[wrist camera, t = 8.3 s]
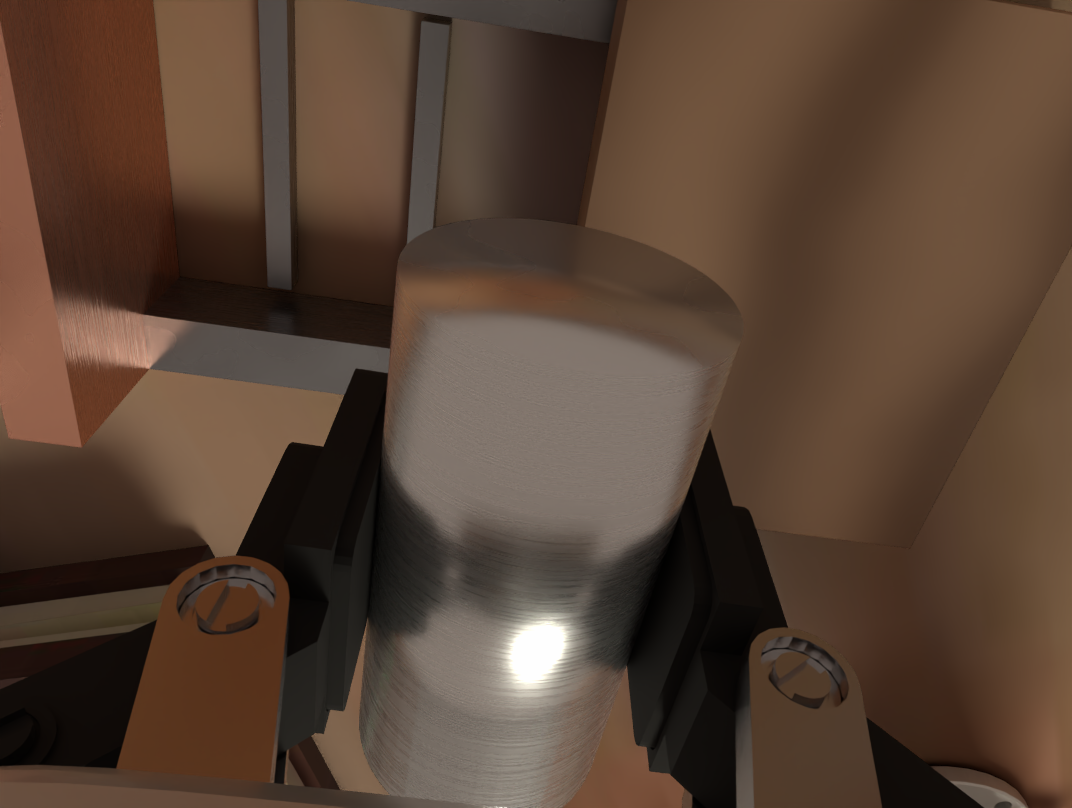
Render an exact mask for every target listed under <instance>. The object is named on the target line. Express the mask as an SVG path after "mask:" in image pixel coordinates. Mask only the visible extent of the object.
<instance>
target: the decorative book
mask: <svg viewBox="0 0 1072 808" xmlns="http://www.w3.org/2000/svg"><path fill="white" fill-rule="evenodd" d="M213 558H215V556H214V555H213V553H212V551H211V549H210V547H209V545H206V546H199V547H191V548H184V549H177V550H169V551H162V552H155V553H147V554H140V555H133V556H125V557H118V558H111V559H103V560H96V561H89V562H81V563H74V564H66V565H59V566H52V567H44V568H37V569H30V570H22V571H15V572H8V573H0V689H2V688H4V687H6V686H9V685H11V684H13V683H15V682H18V681H20V680H22V679H24V678H27V677H29V676H31V675H33V674H36V673H38V672H40V671H42V670H45V669H47V668H49V667H51V666H54V665H56V664H58V663H60V662H63V661H65V660H67V659H69V658H72V657H74V656H76V655H78V654H81V653H83V652H85V651H87V650H90V649H92V648H94V647H96V646H99V645H101V644H103V643H105V642H108V641H110V640H112V639H114V638H117V637H119V636H121V635H123V634H126V633H128V632H130V631H132V630H135V629H137V628H139V627H141V626H144V625H146V624H148V623H150V622H153V621H155V620H157V619H158V615H159V611H160V608H161V604H162V600H163V598H164V596H165V594H166V592H167V590H168V588H169V586H170V584H171V583H172V582H173V581H174V580H175V579H176V578H177V577H178V576H179V575H180V574H181V573H182V572H184V571H186V570H187V569H189V568H191V567H193V566H194V565H196V564H198V563H201V562H204V561H207V560H210V559H213ZM286 785H296V786H305V787H315V788H324V789H334V790H340V789H339V787H338V785H337V783H336V781H335V779H334V777H333V776H332V774H331V772H330V770H329V768H328V766H327V764H326V763H325V761H324V759H323V757H322V755H321V753H320V751H319V750H318V748H317V746H316V744H315V742H314V740H313V738H312V737H311V736H310V737H308V738H306V739H305V740H303V741H302V742H300V743H298V744H297V745H295V746H293V747H292V748H290V749H289V757H288V768H287V780H286Z"/></svg>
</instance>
